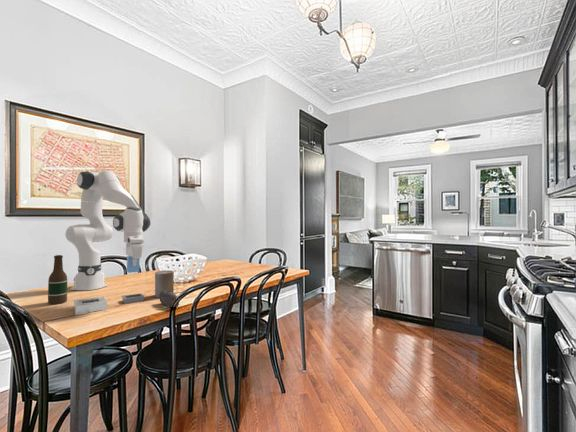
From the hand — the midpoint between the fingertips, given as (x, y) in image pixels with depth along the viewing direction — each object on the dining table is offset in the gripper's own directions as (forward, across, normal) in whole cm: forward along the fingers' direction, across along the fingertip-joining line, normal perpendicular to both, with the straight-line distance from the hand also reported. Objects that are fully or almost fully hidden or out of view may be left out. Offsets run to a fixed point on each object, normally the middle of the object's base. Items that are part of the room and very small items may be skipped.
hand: (133, 265), depth 158 cm
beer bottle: (+19, -20, -31) cm, 41 cm away
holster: (+19, 0, 0) cm, 19 cm away
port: (+19, +3, -19) cm, 27 cm away
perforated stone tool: (+19, +19, +13) cm, 30 cm away
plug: (+3, 0, 0) cm, 3 cm away
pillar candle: (+19, -2, +16) cm, 25 cm away
